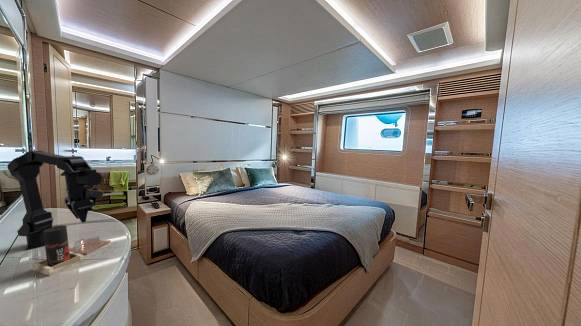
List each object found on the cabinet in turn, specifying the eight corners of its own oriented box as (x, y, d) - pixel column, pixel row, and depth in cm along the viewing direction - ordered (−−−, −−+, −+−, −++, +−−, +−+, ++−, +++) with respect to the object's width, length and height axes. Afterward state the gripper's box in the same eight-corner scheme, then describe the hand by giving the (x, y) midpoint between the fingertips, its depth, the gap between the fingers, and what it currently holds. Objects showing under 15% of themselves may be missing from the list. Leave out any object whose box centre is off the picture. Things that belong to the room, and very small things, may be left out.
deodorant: (55, 271, 78) (50, 232, 77) (43, 268, 79) (38, 231, 78) (74, 262, 84) (70, 226, 82) (63, 260, 85) (59, 224, 84)
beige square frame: (32, 270, 78) (32, 264, 78) (67, 256, 88) (67, 250, 88) (49, 275, 75) (49, 269, 75) (83, 260, 85) (83, 254, 85)
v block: (110, 242, 100) (110, 235, 100) (87, 254, 89) (86, 247, 89) (90, 241, 101) (89, 234, 101) (64, 253, 90) (63, 246, 90)
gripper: (106, 183, 92) (111, 218, 94) (94, 180, 102) (98, 211, 104) (70, 189, 83) (76, 227, 84) (61, 185, 93) (66, 218, 95)
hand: (81, 220), depth 92 cm, fingers open, 9 cm apart
